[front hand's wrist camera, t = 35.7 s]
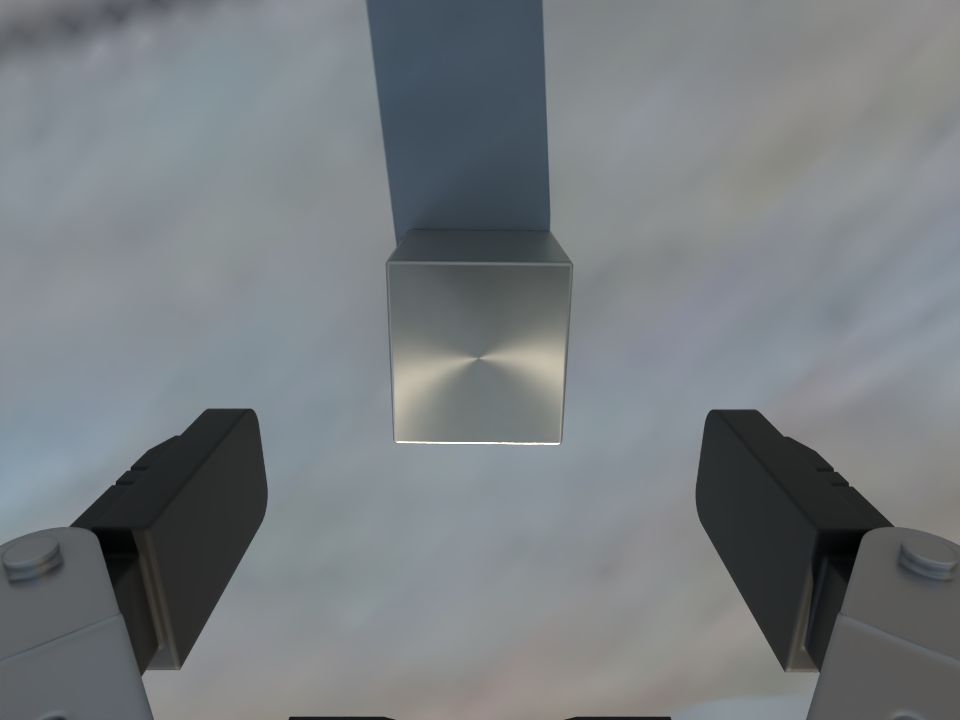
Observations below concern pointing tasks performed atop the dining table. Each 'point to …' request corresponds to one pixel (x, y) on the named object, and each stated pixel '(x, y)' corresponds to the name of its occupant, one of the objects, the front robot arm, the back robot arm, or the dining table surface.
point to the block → (478, 336)
